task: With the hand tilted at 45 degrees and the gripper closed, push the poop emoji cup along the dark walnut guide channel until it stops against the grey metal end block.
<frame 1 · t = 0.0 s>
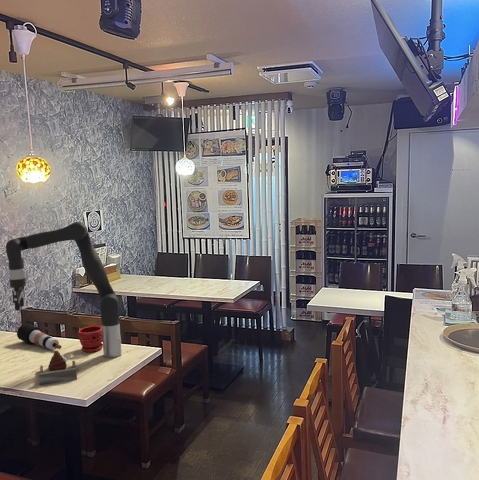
hand: (19, 308, 244), 29 cm above the table, tool pointing down, fingers open, 8 cm apart
guide channel: (58, 376, 228), on the table
cable: (42, 346, 273), on the table
plant pot: (91, 349, 266), on the table
poop emoji: (58, 369, 238), resting in guide channel
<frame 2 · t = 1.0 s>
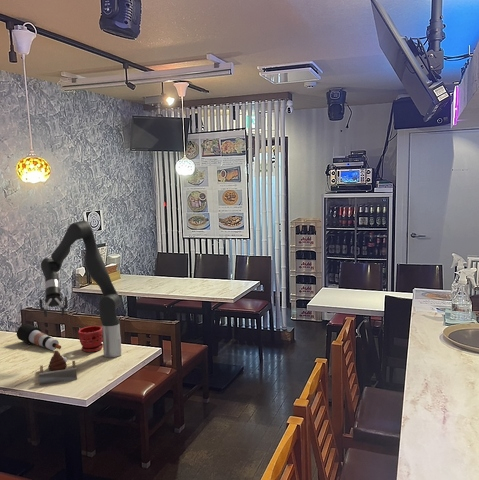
hand: (54, 315, 246), 24 cm above the table, tool tilted 45°, fingers open, 7 cm apart
nothing on the table moved.
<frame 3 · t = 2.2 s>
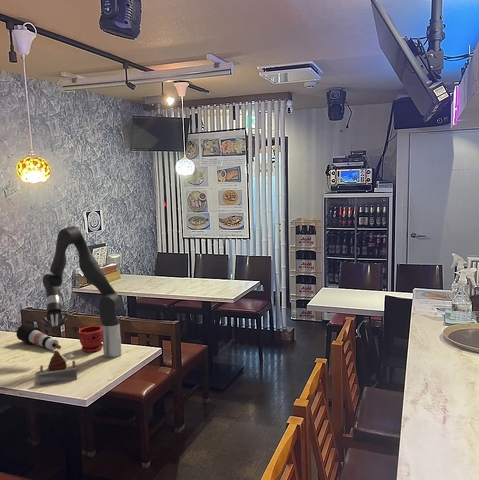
hand: (55, 333, 247), 15 cm above the table, tool tilted 45°, fingers closed
nothing on the table moved.
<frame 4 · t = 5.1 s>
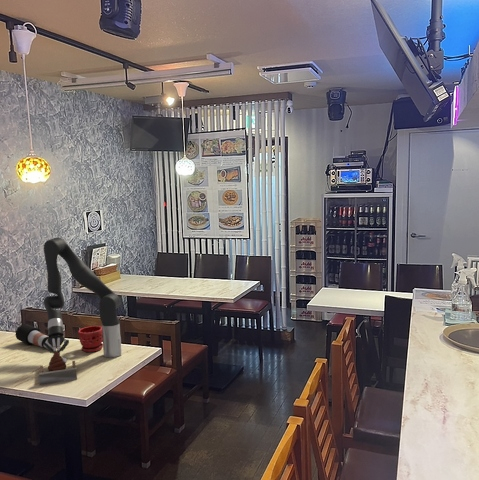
hand: (57, 358, 240), 4 cm above the table, tool tilted 45°, fingers closed
poop emoji: (57, 370, 237), resting in guide channel
everything else where it was.
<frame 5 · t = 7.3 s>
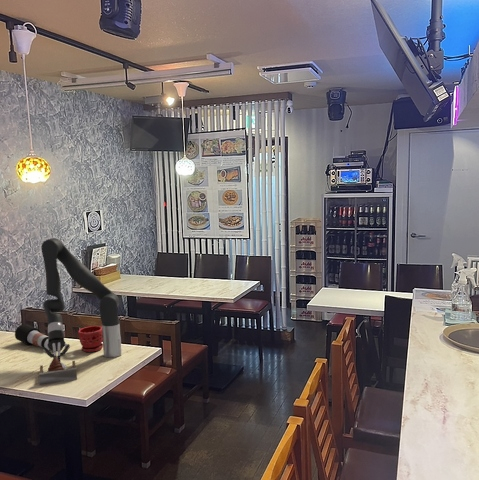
hand: (57, 363, 232), 4 cm above the table, tool tilted 45°, fingers closed
poop emoji: (56, 376, 229), resting in guide channel, touching gripper
everything else where it was.
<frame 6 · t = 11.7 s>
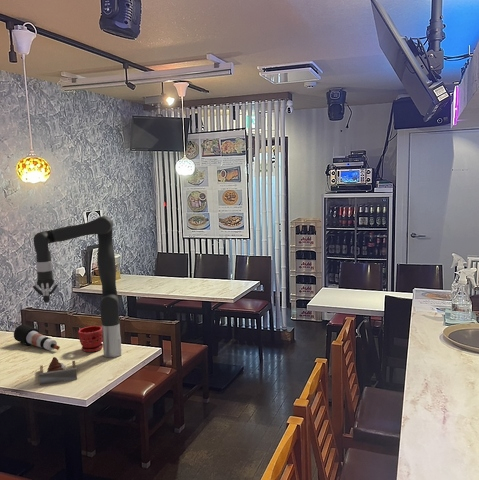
hand: (46, 302, 248), 31 cm above the table, tool pointing down, fingers closed
poop emoji: (56, 376, 229), resting in guide channel
at the end: poop emoji 1.3 cm off-centre on the guide channel, point 0.0 cm above the guide channel's base; poop emoji tilted 0°; poop emoji moved 9.9 cm from its start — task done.
